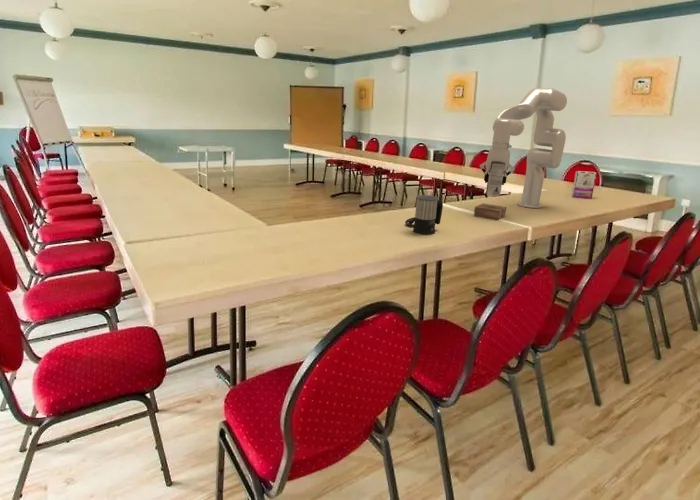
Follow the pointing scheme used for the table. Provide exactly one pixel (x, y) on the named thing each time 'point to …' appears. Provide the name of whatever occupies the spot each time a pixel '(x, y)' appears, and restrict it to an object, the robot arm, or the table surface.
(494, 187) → the coffee box
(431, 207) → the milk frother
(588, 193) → the candy bar box
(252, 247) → the table surface
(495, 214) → the walnut block
